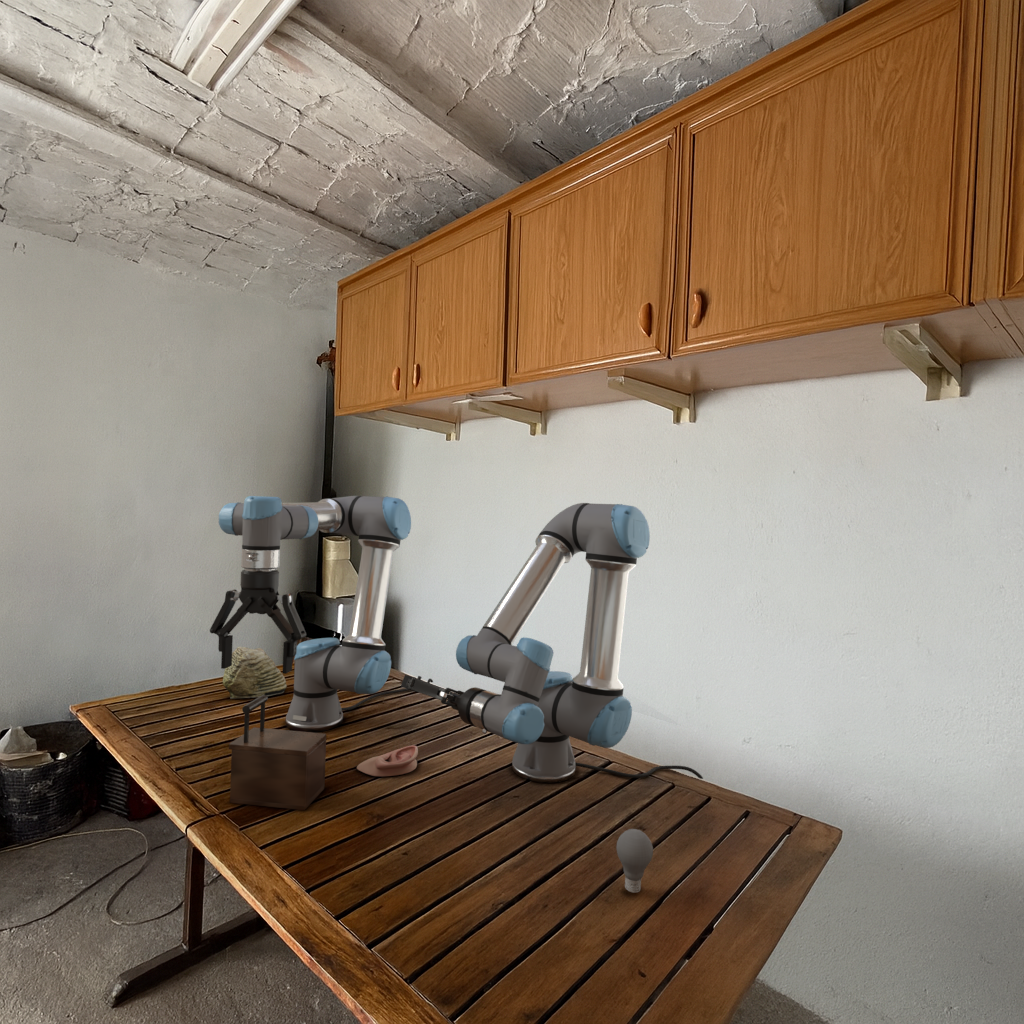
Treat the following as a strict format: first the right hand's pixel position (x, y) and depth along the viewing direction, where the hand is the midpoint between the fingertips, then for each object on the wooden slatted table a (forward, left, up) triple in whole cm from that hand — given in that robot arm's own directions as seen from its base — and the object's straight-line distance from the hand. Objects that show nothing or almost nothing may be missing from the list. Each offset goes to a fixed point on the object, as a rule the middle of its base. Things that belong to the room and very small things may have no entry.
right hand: (427, 689), depth 146 cm
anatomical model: (+8, -5, -20) cm, 22 cm away
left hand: (+37, +1, +7) cm, 37 cm away
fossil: (+41, -68, -20) cm, 82 cm away
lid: (+32, +3, -9) cm, 33 cm away
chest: (+32, +4, -20) cm, 37 cm away
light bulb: (-26, +52, -20) cm, 61 cm away
